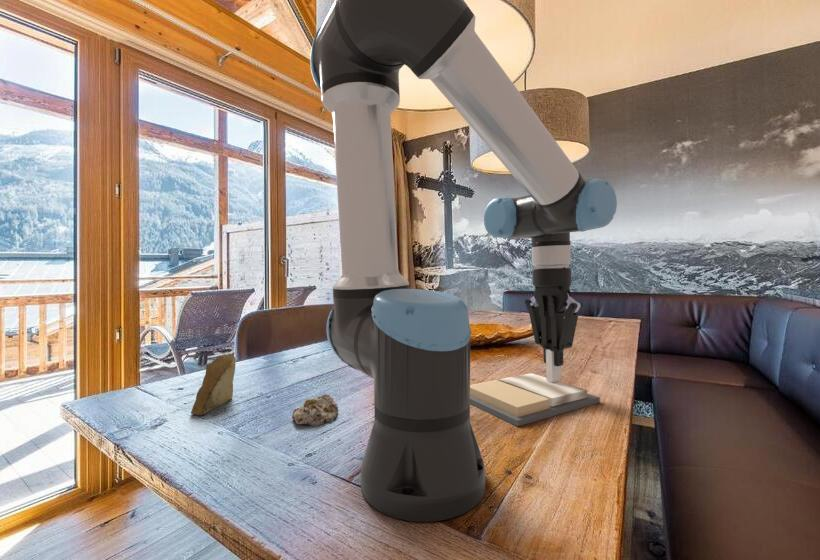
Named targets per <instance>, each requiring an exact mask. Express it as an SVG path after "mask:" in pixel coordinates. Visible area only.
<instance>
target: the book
mask: <svg viewBox="0 0 820 560" xmlns="http://www.w3.org/2000/svg"><path fill="white" fill-rule="evenodd" d="M497 380H498V381H501V382H504V383H506V384H509V385H512V386H515V387H518V388H520V389H523V390H526V391H529V392H532V393H534V394H537V395H540V396H543V397H545V398H548V399H550V406H551V407H553V406H556V405H560V404H564V403H568V402H572V401H576V400H580V399H584V398H587V394H588V389H585V388H582V387H579V386H576V385H572V384H569V383H565V382H562V381H560V380H559V381H555V382H550V381H547V380H546V377H545V376H542V375H538V374H536V373H532V372H531V373H525V374H519V375H515V376H509V377H503V378H498V379H497Z"/></svg>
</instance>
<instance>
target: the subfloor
mask: <svg viewBox="0 0 820 560" xmlns="http://www.w3.org/2000/svg"><path fill="white" fill-rule="evenodd" d="M600 400H601V397H600V396H597V395H593V394H591V393H587V398H584V399H580V400H576V401H572V402H568V403H564V404H560V405H556V406H553V407H551V406H550V399H548V398H545V397H543V396H540V395H537V394H534V393H532V392H529V391H526V390H523V389H520V388H518V387H515V386H512V385H509V384H506V383H504V382H501V381H498V379H493V380H488V381H483V382H478V383H473V384H470V405H471V406H474V407H476V408H478V409H480V410H482V411H484V412H487V413H488V414H490V415H493V416H495V417H497V418H499V419H501V420H503V421H505V422H507V423H509V424H511V425H513V426H515V427H520V426H524V425H527V424H531V423H534V422H537V421H541V420H544V419H548V418H551V417H554V416H557V415H562V414H564V413H568V412H572V411H575V410H579V409H582V408H585V407H588V406H592V405H595V404H599V403H600V402H601V401H600Z"/></svg>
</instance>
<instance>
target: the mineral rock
mask: <svg viewBox="0 0 820 560" xmlns="http://www.w3.org/2000/svg"><path fill="white" fill-rule="evenodd" d="M338 409H339V407H338V406H337V403H336V402H335V400H334V398H333V396H330V394H329V395H328V394H323V395H319V396H316V397H314V398H306V399H305V401H304V403H303V406H299V407H297V408H295V409H294V410H293V411H292V417H291V420H292V421H293V422H295V423H296V424H297V425H310V426H312V427H314V426H319V425H323V424H326V423H329V422H332V421H334V420H335V419H334V418H336V417H337V415H338V412H339V410H338Z"/></svg>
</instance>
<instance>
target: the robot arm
mask: <svg viewBox="0 0 820 560" xmlns="http://www.w3.org/2000/svg"><path fill="white" fill-rule="evenodd" d="M475 28H476V15H475V14H474V13H473V11H472V10H471V9H470V7H469V6H468V4H467V3H466V2H465V0H334V1H333V4H332V5H331V8H330V10H329V12H328V14H327V16H326V17H325V19H324V21H323V22H322V23H321V24H320V26H319V27H318V29H317V31H316V32H315V36H314V38H313V40H312V44H311V49H310V55H309V56H310V58H309V64H310V65H309V66H310V71H311V75H312V78H313V81H314V84H315V85H316V87H317V89H319V90H320V95H321V96H320V97H321V98H320V99H321V105H322V106H323V107H324V109H326V111H327V112H328V113H330V114H331V115H332V121H333V139H334V155H335V173H336V189H337V202H338V203H337V205H338V207H337V208H338V224H339V225H338V226H339V240H340V241H339V242H340V243H339V244H340V259H341V275H340V277H339V278H338V280H337V281H336V282H335V283H334V284H333V286H332V296H333V297H332V299H333V307H332V309H331V310H330V312H329V314H328V317H327V320H326V326H325V329H326V336H327V337H326V338H327V341H328V344H329V346H330V348H331V350H332V351H333V353H335V354H336V356H337V357H338V358H339V359H340V360H341V361H342V363H344V364H346V365H347V366H348V367H350V368H352V369H354V370H357V371H359V372H361V373H362V374H365V375H367V376H368V377H370V378H372V379H373V395H374V396H373V397H374V399H373V400H374V421H373V425H372V429H371V431H370V435H369V438H368V442H367V445H366V448H365V452H364V455H363V458H362V460H361V466H360V489H361V493H362V496H363V497H364V499H365V501H366V502H367V503H368V504H369V505H370V506H371V507H372V508H374V509H375V510H377V511H379V512H380V513H382V514H384V515H387V516H389V517H392V518H395V519H398V520H404V521H409V522H419V523H420V522H423V523H426V522H427V523H428V522H439V521H444V520H449V519H453V518H456V517H459V516H462V515H463V514H466V513H467V512H469V511H471V510H473V508H475V507H476V506H477V505H478V504H479V503H480V502H481V500H482V499H483V498H484V495H485V493H486V468H485V463H484V460H483V457H482V453H481V450H480V447H479V444H478V442H477V438H476V435H475V432H474V429H473V426H472V424H471V404H470V385H471V337H472V336H471V335H472V329H471V326H470V315H469V309H468V305H467V304H466V303H465V301H464V300H463V299H462V298H461V297H459V296H456V295H454V294H452V293H447V292H443V291H438V290H428V289H420V288H419V289H418V288H410V282H409V281H408V279H406V278H405V277H404V276H403V275H402V274H401V273H400V270H399V256H398V254H399V253H398V237H397V217H396V216H397V215H396V195H395V194H396V193H395V181H394V180H395V179H394V178H395V177H394V159H393V140H392V139H393V138H392V119H391V118H392V117H391V115H392V113H394V112H395V110H397V108H399V106H400V102H401V98H400V77H399V76H400V75H399V74H400V70H401V69H402V68H403V66H406V67H407V68H409V69H410V71H411V72H412V73H413V74H414V75H415V76H416V78H417V79H419V80H430V81H431V82H432V83H433V85H434V86H435V87H436V88H437V89H438V91H440V93H441V94H442V95H443V96H444V97H445V98H446V99H447V101H448V102H449V103H450V104H451V106H453V108H454V109H455V110H456V111H457V113H459V115H460V116H461V117H462V119H464V120H465V121H466V122H467V124H468V126H470V127H471V129H472V130H473V131H474V133H476V135H477V136H478V137H479V138H480V139H481V140H482V141H483V143H485V145H486V146H487V147H488V148H489V150H490V151H491V152H492V153H493V154H494V155H495V156H496V158H497V159H498V160H499V161H500V162H501V163H502V165H503V166H504V167H505V169H507V170H508V172H509V173H510V174H511V175H512V176H513V177H514V178H515V180H516V181H517V182H518V183H519V184H520V186H521V187H522V188H523V189H524V191H526V192H527V193H528V195H523V196H518V197H510V196H505V197H495V198H493V199H491V201H489V203H488V204H487V206H486V207H485V209H484V211H483V212H484V213H483V225H484V229H485V230H486V232H487V234H488V235H489V236H491V237H492V238H493V237H494V238H499V239H504V240H506V239H530V240H531V265H532V266H533V267H534V268H533V269H532V270H531V272H532V273H531V274H532V275H531V277H532V281H531V282H532V286H534V292H533V296H531V297H530V298H528V299H525V300H524V304H525V306H526V308H527V310H528V313H529V319H530V323H531V329H532V333H533V338H534V343H535V344H536V345H540V346H541V347H542V349H543V362H544V364H545V369H546V374H545V375H546V380H547V381H550V382H555V381H559V382H560V381H562V366H564V350H565V349H566V350H567V349H570V348H572V347H573V344H574V339H575V334H576V328H577V324H578V318H579V314H580V312H581V311H582V309H583V307H584V304H583V302H581V301H576V300H575V299H574V298H573V294H572V292H571V289H570V287H571V285H572V269H571V267H569V266H570V265H571V264H572V258H571V257H572V255H571V254H572V253H571V233H577V232H586V231H592V230H597V229H600V228H605V227H606V226H608V225H609V224H610V223H611V222H612V221H613V219H614V215H616V212H617V209H618V208H617V206H618V204H617V203H618V202H617V195H616V191H615V189H614V187H613V185H612V184H611V183H610V182H609V181H606V180H604V179H603V178H596V179H594V178H591V179H588V180H586V179H585V178H584V177H583V175H582V174H581V173H580V172H579V170H578V169H577V168H576V167H575V165H574V164H573V163H572V161H571V160H570V159H569V157H568V156H567V154H566V153H565V152H564V150H563V149H562V148H561V146H560V145H559V144H558V142H557V141H556V139H555V138H554V137H553V135H552V134H551V132H550V131H549V130H548V129H547V128H546V126H545V125H544V123H543V122H542V121H541V119H540V118H539V116H538V115H537V113H536V112H535V111H534V110H533V109H532V107H531V106H530V104H529V103H528V102H527V100H526V99H525V97H524V96H523V95H522V93H521V92H520V91H519V90H518V88H517V86H516V85H515V84H514V82H513V81H512V80H511V79H510V77H509V76H508V75H507V73H506V72H505V70H504V69H503V68H502V66H501V65H500V63H499V62H498V61H497V60H496V58H495V57H494V55H493V54H492V53H491V52H490V50H489V49H488V47H487V46H486V45H485V44H484V42H483V41H482V39H481V38H480V37H479V35H478V34H477V33H476V30H475Z"/></svg>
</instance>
